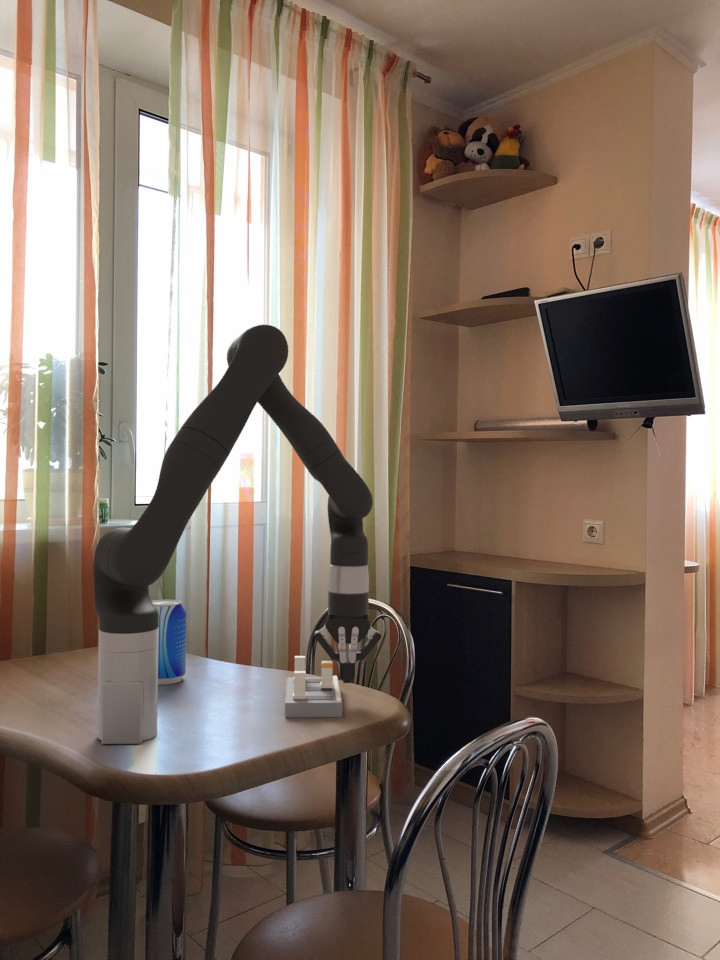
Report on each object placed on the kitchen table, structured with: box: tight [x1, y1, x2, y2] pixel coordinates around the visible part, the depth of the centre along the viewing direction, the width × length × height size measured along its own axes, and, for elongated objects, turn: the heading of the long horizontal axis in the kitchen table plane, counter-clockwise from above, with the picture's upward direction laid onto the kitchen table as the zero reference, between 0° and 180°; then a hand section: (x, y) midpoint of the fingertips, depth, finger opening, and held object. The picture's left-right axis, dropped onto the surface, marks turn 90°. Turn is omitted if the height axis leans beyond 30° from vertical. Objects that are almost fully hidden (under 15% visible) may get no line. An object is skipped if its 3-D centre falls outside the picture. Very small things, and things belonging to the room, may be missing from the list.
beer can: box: [151, 599, 187, 686], centre depth 165 cm, size 8×8×16 cm
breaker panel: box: [284, 655, 343, 718], centre depth 150 cm, size 18×10×7 cm, turn 4°
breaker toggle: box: [320, 660, 334, 688], centre depth 150 cm, size 2×2×5 cm
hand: (347, 682), depth 150 cm, fingers closed
